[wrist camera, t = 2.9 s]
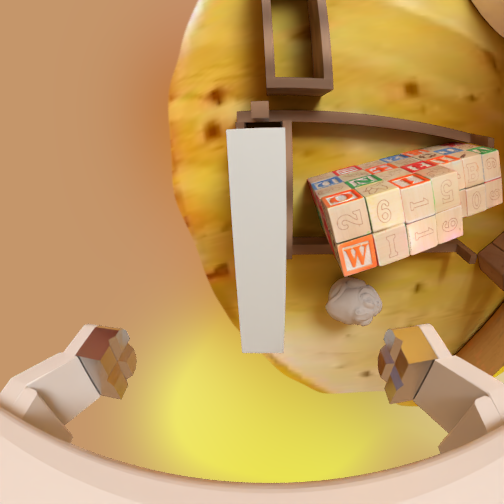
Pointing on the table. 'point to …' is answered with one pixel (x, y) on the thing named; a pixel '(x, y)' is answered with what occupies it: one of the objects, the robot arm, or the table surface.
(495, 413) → the robot arm
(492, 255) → the brown wedge with rod
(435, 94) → the table surface
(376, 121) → the rack
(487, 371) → the log
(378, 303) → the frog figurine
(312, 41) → the holder
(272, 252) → the sheet
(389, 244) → the stack of blocks
